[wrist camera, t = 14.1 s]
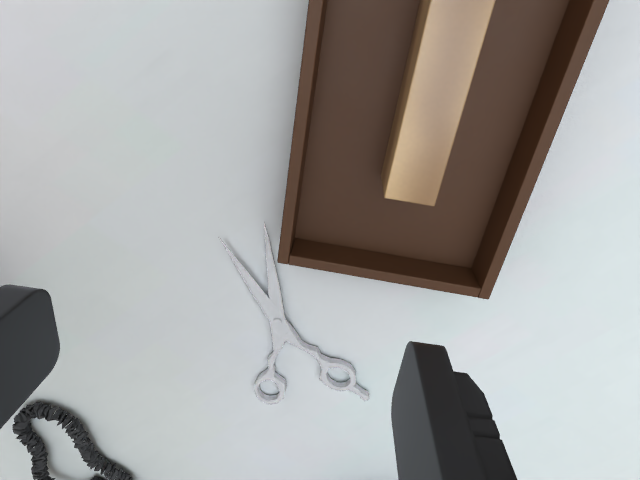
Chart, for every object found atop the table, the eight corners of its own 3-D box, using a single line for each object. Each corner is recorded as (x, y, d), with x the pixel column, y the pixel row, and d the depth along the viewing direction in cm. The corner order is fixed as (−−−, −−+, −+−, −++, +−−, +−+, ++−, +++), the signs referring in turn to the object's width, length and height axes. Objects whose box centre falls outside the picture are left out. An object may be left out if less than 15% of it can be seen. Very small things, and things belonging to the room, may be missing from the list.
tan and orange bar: (361, 173, 30) (361, 194, 26) (449, -261, 20) (472, -337, 16) (443, 187, 30) (457, 211, 26) (572, -241, 20) (626, -312, 16)
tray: (285, 240, 34) (277, 262, 30) (360, -352, 20) (361, -435, 16) (475, 273, 33) (488, 299, 30) (689, -299, 19) (759, -371, 16)
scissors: (266, 417, 41) (178, 245, 33) (267, 410, 42) (182, 240, 34) (369, 400, 39) (302, 212, 31) (369, 394, 40) (304, 208, 32)
